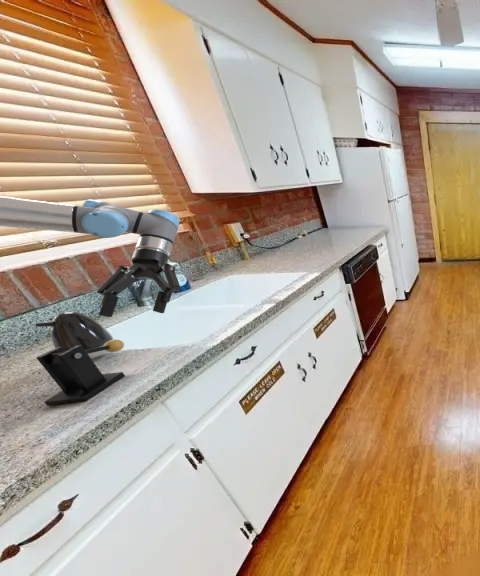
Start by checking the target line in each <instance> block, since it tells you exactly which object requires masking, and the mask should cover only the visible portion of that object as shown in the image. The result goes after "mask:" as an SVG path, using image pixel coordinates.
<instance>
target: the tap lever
mask: <svg viewBox="0 0 480 576" xmlns="http://www.w3.org/2000/svg"><path fill="white" fill-rule="evenodd" d="M124 347H125V343H124V341H122V340H120V339H113V340H110V341H108V342H106V343H105V344H104V346H102V347H97V348H93V349H88V350H85V351H86V352H87V354H89V353H94V352H98V351H102V350H106V351H108V352H107V353H117V352H119V351H121V350H123V349H124ZM64 352H65V351H64ZM61 353H63V352H60V353H55V354H51V355H50V356H51V361H52V364H55V363H62V362H61V361H60V360H59V358H58V357H57V355H59V354H61Z"/></svg>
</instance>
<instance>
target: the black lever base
mask: <svg viewBox="0 0 480 576" xmlns="http://www.w3.org/2000/svg"><path fill="white" fill-rule="evenodd" d="M64 351H65V350H64V348H63V347H57V348H55V347H54V348H52V349H51V350H49V351H47V352H44V353H43V354H40V355H39V356H37V357H36V360H37V361H38V362H39V363H40V365H41V366H42V367H43V368H44V370H45V371H46V372H47V373H48V374H49V377H51V378H52V379H53V380H54V382H55V383H56V384H57V386H58V387H59V388H60V389H61V391H60V392H58V393H56V394H54V395H53V396H51V397H49V398H48V399H46V400H44V401H43V403H44V404H45V405H46V406H47V407H53V406H54V407H55V406H63V405H64V406H65V405H71V404H80V403H86V402H88V401H89V400H91V399H93V398H94V397H96V396H97V395H99V394H100V393H102V392H103V391H105V390H106V389H108V388H109V387H111V386H113V385H114V384H116V383H118V381H120V380H122V379H123V378H124V377H126V375H125V373H124V372H123V371H118V372H117V371H116V372H109V373H108V372H107V373H102V372H101V371H100V369H99V368H98V366H97V365H96V363H95V362H94V360H93V358H92V359H91V358H90V357H89V355H88V354H87V352H86V351H85V350H84V348H83V347H82V345H79V346H75V347H73V348H71V349H69V350H67V351H65V352H64ZM60 352H63V353H61V354H59V355H57V357H58V358H59V360H60V361H61V362H62V363H55V364H52V361H51V356H50V355H51V354H55V353H60Z"/></svg>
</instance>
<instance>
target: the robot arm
mask: <svg viewBox="0 0 480 576" xmlns="http://www.w3.org/2000/svg"><path fill="white" fill-rule="evenodd" d="M179 225H180V218H179V216H178V215H176V214H175V213H173V212H171V211H168V210H165V209H158V208H154V209H152V208H151V209H150V210H148V212H143V211H138V210H134V209H130V208H128V207H127V208H126V207H123V206H119V205H115V204H111V203H108V202H105V201H100V200H95V199H86V200H85V201H84V202H83V204H82V206H79V205H72V204H66V203H65V204H64V203H57V202H48V201H42V200H41V201H40V200H32V199H25V198H16V197H9V196H0V227H4V228H18V229H30V230H40V231H41V230H43V231H52V232H65V233H76V234H86V235H92V236H95V237H98V238H104V239H112V238H116V237H119V236H121V235H124V234H125V233H130V234H134V235H139V236H138V239H137V242H136V244H135V246H134V251H133V253H132V256H131V259H130V260H131V263H132V264H131V265H130V266H124V265H119V266H118V267H117V269H116V270H115V272H114V273H113V274H112V275H111V276H110V277H109V278H108V279H107V280H106V281H105V282H104V283H103V284H102V285H101V286H100V287H99V288H98V289H97V290H96V294H100V295H103V296H102V300H101V302H100V306H101V307H100V310H99V312H98V315H99V316H102V317H107V318H113V315H114V313H115V309H116V306H117V303H118V301H119V296H118V295H120V294H121V293H122V292H124V291H125V290H126V289H127V288H129V287H131V286H132V285H134V283H138V282H139V281H145V280H151V281H152V280H153V281H154V282H155V283H156V285H158V287H159V288H160V290H159V291H157V296H156V299H155V302H154V306H153V309H152V312H154V313H155V312H156V313H159V314H165V311H166V307H167V305H168V303H170V301H171V298H172V295H173V293H175V292H180V291H181V290H182V287H181V285H180V282H179V280H178V277H177V274H176V266H175V265H172V264H170V263H168V262H169V259H170V254H171V252H172V250H173V249H172V248H173V245H174V242H175V239H176V237H177V233H178V231H179ZM162 273H164V275H165V277H164V276H163V275H162Z"/></svg>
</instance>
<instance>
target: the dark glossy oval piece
mask: <svg viewBox="0 0 480 576" xmlns="http://www.w3.org/2000/svg"><path fill="white" fill-rule="evenodd" d="M34 326H35V328H36V327H37V328H39V327H50V338H51V342H52V344H53V346H54V349H55V348H57V347H63V348H64V350H65V351H67V350H69V349H71V348H73V347H75V346H79V345H82V347H83V348H84V350H88V349H93V348H97V347H102V346H104V344H105V343H106V342H108V341H110V340H114V337H113V335H112V334H111V333H110V332H109V331H108V330H107V329H106V328H105V327H104V326H103V325H101V324H100V323H99V322H97V321H96V320H95V319H93V318H91V317H89V316H87V315H85V314H82V313H80V312H77V311H65V312H61V313H59V314H56V315H55V316H54V317H53V318H52V320H50V321H42V322H35V323H34ZM107 353H109V352H108V351H106V350H102V351H98V352H94V353H89V354H88V355H89V357H90V358H91V359H92V360H93V359H95V358H98V357H101V356H103V355H105V354H107Z"/></svg>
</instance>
